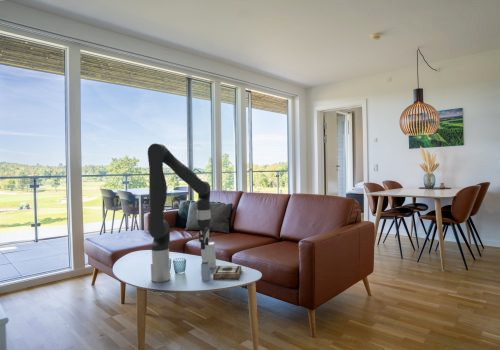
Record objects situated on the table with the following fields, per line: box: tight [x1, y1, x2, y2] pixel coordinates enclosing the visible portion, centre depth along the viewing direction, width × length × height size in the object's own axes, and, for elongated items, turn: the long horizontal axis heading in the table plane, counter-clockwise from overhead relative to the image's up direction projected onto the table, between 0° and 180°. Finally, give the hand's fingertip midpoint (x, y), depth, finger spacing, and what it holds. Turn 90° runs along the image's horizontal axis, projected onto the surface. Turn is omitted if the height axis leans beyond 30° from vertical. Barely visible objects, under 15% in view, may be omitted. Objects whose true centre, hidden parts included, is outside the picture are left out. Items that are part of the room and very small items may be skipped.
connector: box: [200, 260, 211, 282], centre depth 181 cm, size 4×4×10 cm
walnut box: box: [212, 265, 242, 280], centre depth 187 cm, size 14×14×3 cm
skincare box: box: [200, 241, 217, 269], centre depth 202 cm, size 8×6×15 cm
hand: (204, 247), depth 181 cm, fingers open, 8 cm apart
